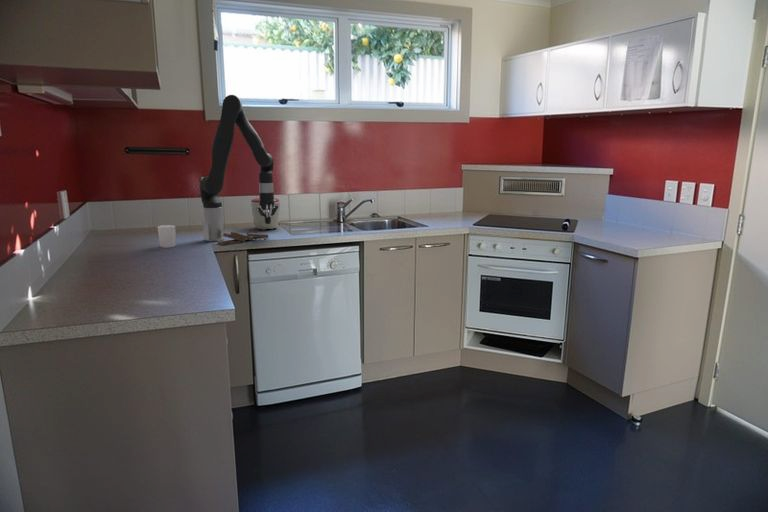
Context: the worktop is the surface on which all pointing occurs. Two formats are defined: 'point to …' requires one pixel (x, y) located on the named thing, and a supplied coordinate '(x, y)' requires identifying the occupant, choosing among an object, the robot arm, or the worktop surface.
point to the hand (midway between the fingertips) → (267, 223)
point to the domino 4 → (257, 235)
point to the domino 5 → (258, 238)
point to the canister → (260, 220)
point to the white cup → (166, 236)
